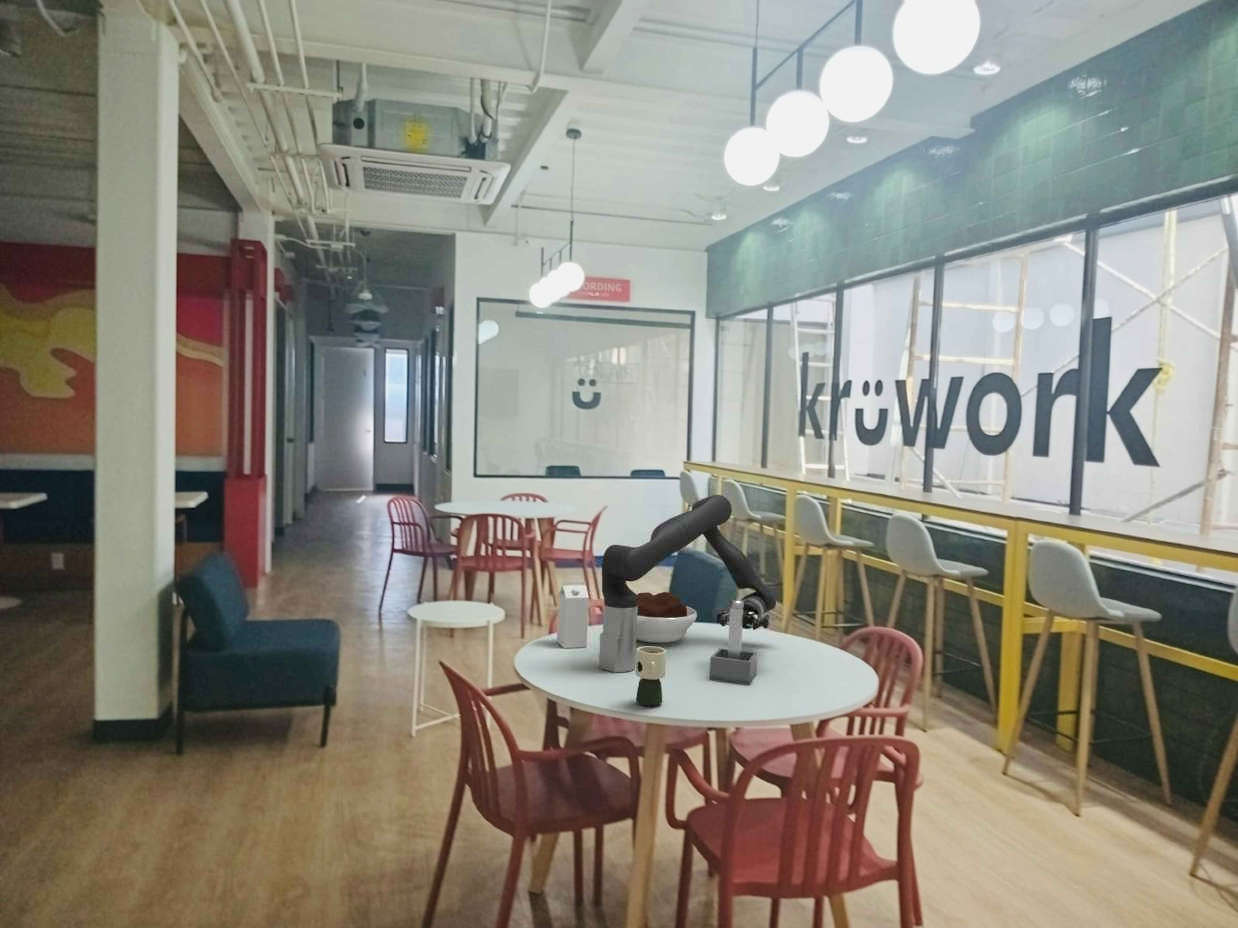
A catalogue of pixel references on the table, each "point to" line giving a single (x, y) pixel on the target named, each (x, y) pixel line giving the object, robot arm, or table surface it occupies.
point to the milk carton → (573, 615)
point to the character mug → (650, 674)
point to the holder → (733, 667)
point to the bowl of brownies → (662, 618)
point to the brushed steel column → (735, 629)
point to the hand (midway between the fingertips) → (738, 624)
